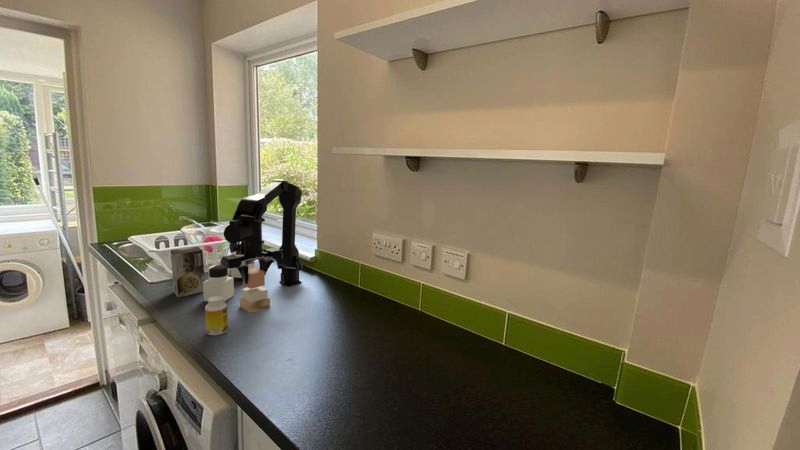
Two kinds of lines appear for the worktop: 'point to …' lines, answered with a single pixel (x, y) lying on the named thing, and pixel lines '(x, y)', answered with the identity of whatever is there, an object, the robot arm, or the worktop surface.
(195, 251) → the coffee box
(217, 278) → the medicine bottle
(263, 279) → the terracotta block
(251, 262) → the spread jar
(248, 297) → the cream block
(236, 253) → the robot arm
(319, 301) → the worktop surface
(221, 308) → the supplement bottle
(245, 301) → the oak base block
